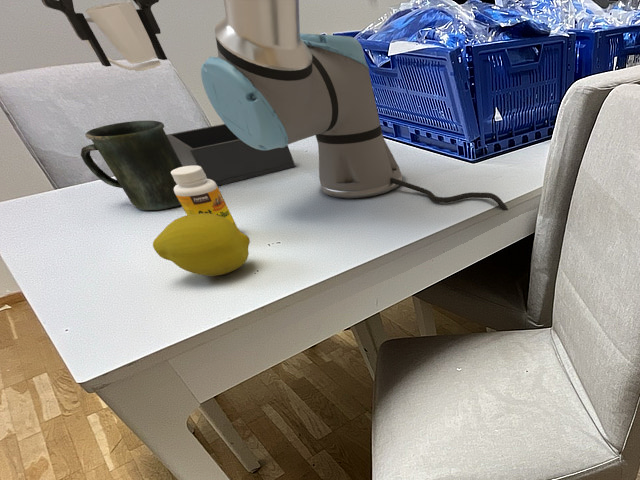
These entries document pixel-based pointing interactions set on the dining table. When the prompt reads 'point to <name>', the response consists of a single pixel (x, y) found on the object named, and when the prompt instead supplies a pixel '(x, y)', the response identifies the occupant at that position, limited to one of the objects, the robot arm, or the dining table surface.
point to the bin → (226, 154)
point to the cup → (124, 33)
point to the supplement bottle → (199, 192)
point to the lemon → (203, 244)
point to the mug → (136, 162)
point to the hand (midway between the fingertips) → (135, 62)
